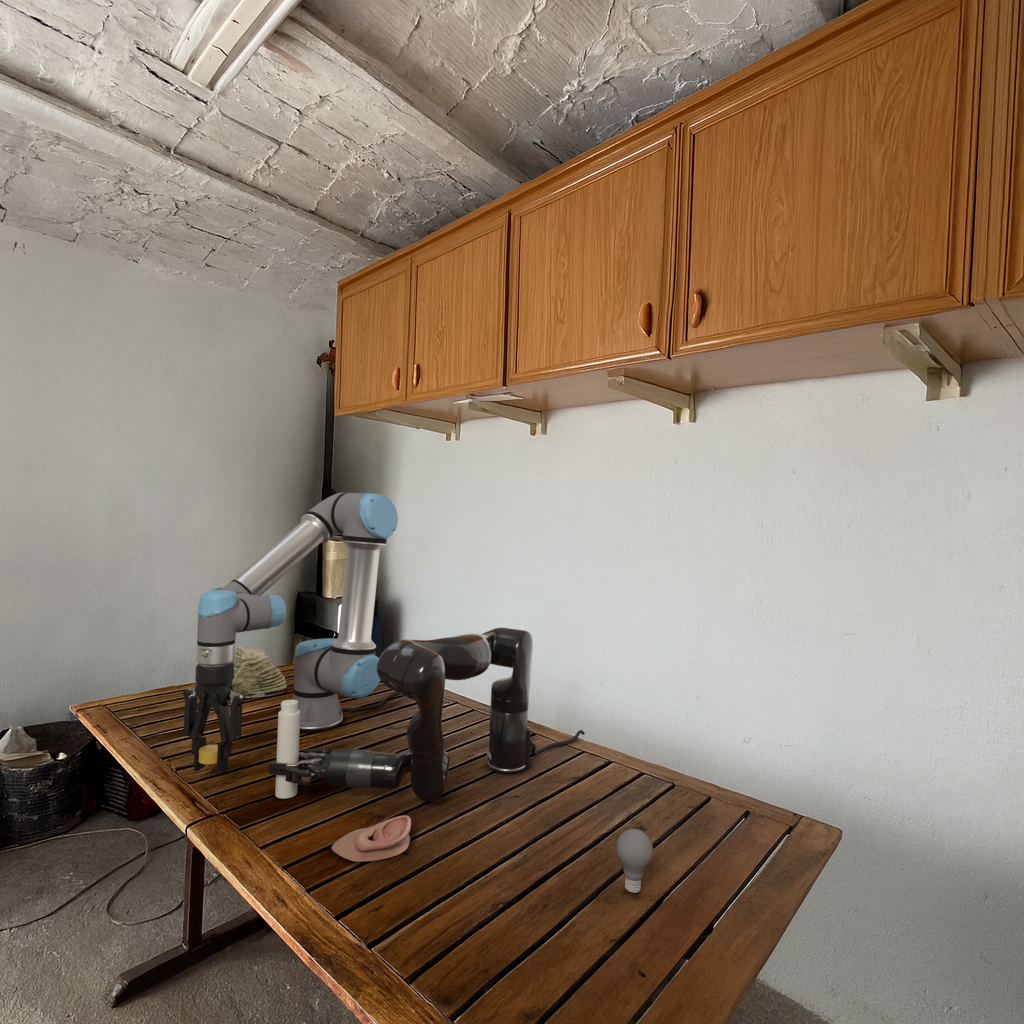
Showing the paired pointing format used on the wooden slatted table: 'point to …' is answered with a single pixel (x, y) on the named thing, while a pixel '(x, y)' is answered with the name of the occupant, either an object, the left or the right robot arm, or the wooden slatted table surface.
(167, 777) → the wooden slatted table surface
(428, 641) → the right robot arm
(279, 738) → the white bottle
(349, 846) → the anatomical model
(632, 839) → the light bulb
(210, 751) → the lid
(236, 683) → the fossil
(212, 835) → the wooden slatted table surface
